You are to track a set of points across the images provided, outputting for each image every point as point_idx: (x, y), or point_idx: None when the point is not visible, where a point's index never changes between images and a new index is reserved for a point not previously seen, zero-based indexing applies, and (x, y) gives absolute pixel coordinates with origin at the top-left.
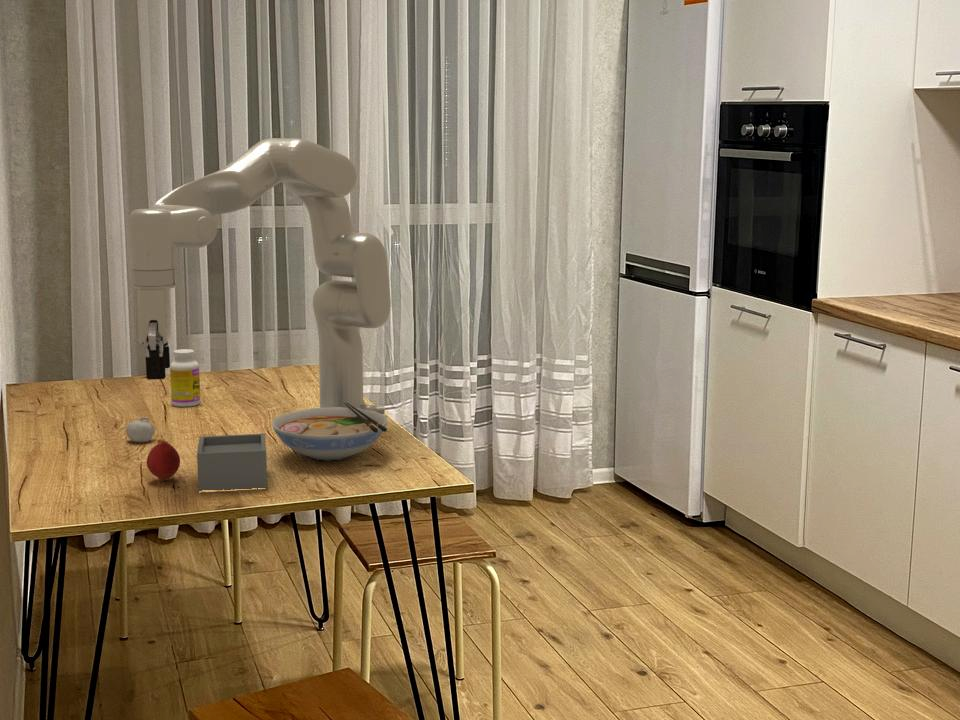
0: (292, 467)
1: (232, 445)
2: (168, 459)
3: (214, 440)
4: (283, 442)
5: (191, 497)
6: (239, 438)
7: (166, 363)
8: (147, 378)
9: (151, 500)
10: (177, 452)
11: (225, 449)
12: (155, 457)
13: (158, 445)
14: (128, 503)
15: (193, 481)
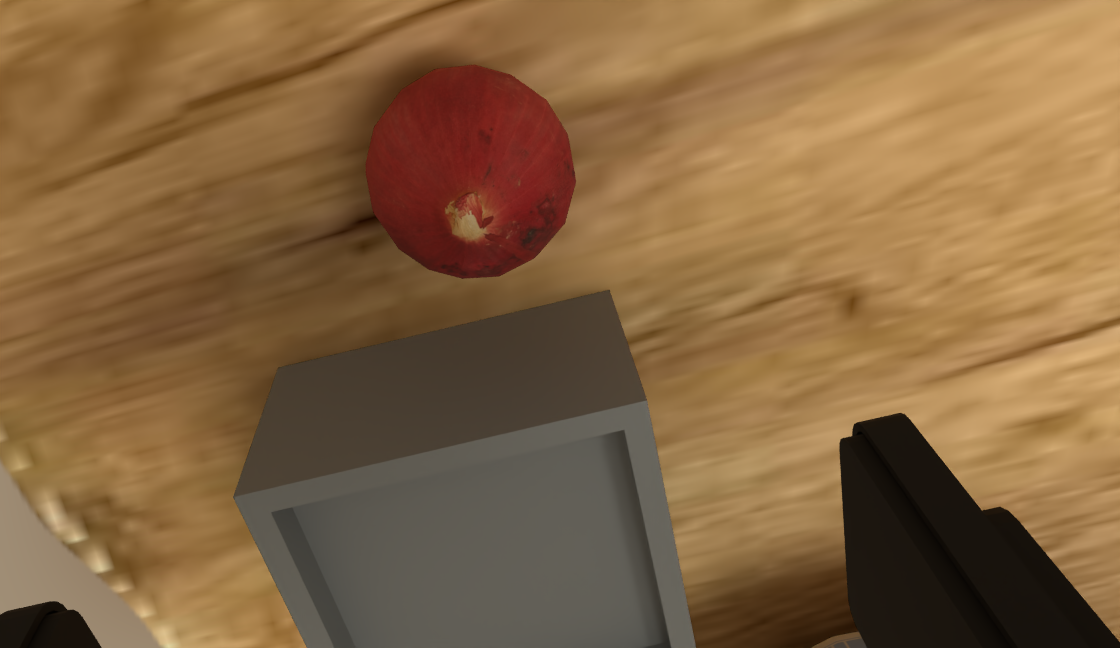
0: (702, 622)
1: (609, 538)
2: (394, 242)
3: (631, 467)
4: (832, 643)
5: (206, 354)
6: (656, 580)
7: (870, 639)
8: (11, 617)
9: (108, 175)
10: (495, 276)
11: (525, 528)
12: (377, 169)
13: (444, 193)
14: (20, 63)
15: (471, 289)
